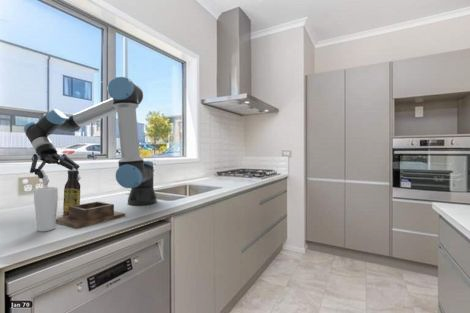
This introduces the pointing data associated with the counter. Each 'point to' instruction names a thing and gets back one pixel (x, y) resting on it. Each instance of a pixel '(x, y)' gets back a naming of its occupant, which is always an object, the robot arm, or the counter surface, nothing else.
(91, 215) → the walnut bottle holder
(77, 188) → the sauce bottle
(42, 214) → the drinking glass
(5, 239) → the counter surface
